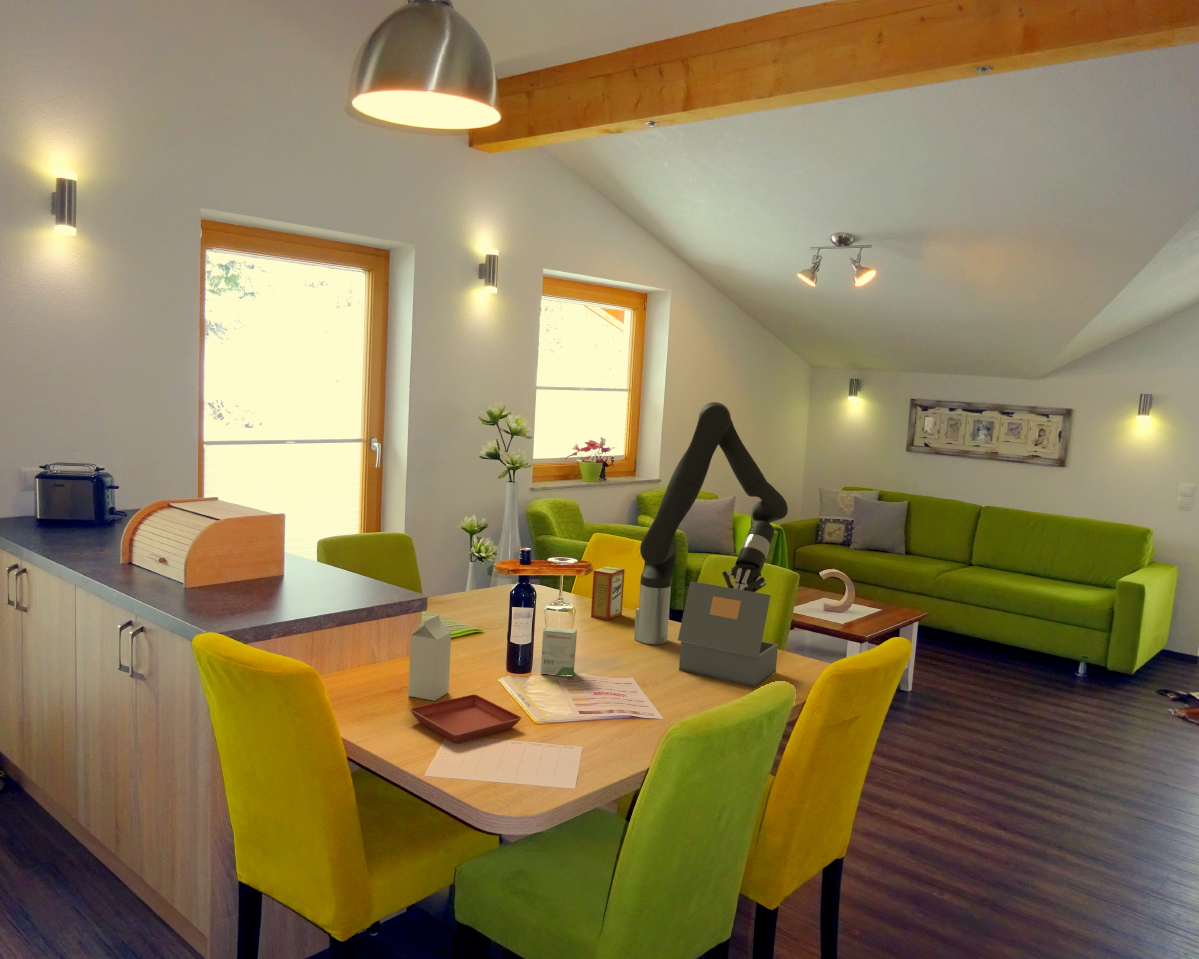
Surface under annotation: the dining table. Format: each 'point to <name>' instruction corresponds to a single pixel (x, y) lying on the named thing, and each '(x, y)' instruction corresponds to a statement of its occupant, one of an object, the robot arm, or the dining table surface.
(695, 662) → the mailer box
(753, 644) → the mailer lid
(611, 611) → the baking soda box
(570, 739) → the dining table surface
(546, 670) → the ink box
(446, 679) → the milk carton
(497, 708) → the plant saucer
